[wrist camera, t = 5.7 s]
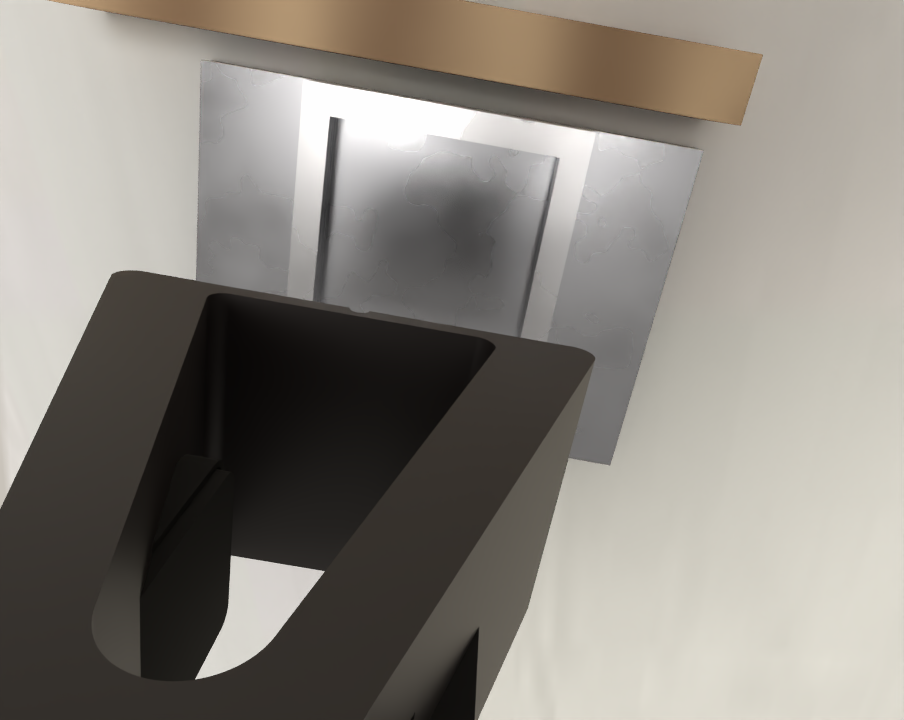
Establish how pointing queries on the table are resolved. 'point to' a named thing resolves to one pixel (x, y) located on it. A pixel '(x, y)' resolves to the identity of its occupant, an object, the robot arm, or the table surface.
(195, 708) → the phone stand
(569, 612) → the table surface
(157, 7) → the door edge rail
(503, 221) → the keeper plate
